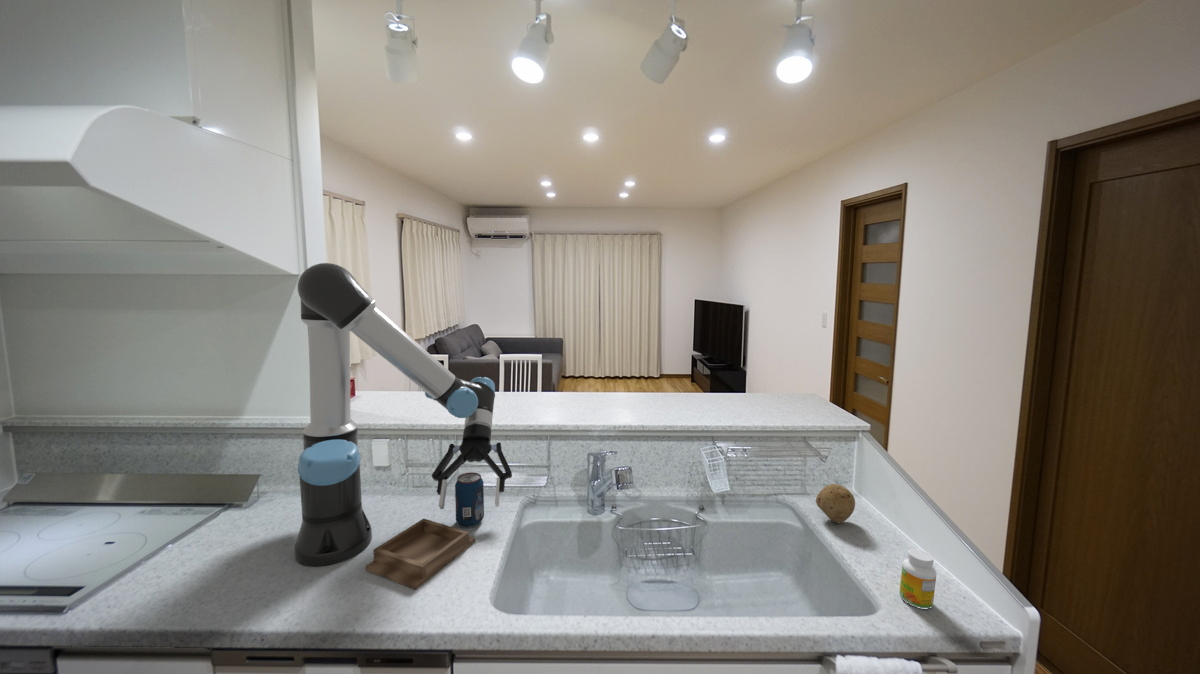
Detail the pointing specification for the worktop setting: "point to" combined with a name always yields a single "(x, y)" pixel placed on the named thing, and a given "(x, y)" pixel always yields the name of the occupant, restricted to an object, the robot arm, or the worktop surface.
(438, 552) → the wooden tray
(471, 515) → the soda can
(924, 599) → the supplement bottle
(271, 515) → the worktop surface
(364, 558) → the worktop surface
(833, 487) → the brown rounded lump
